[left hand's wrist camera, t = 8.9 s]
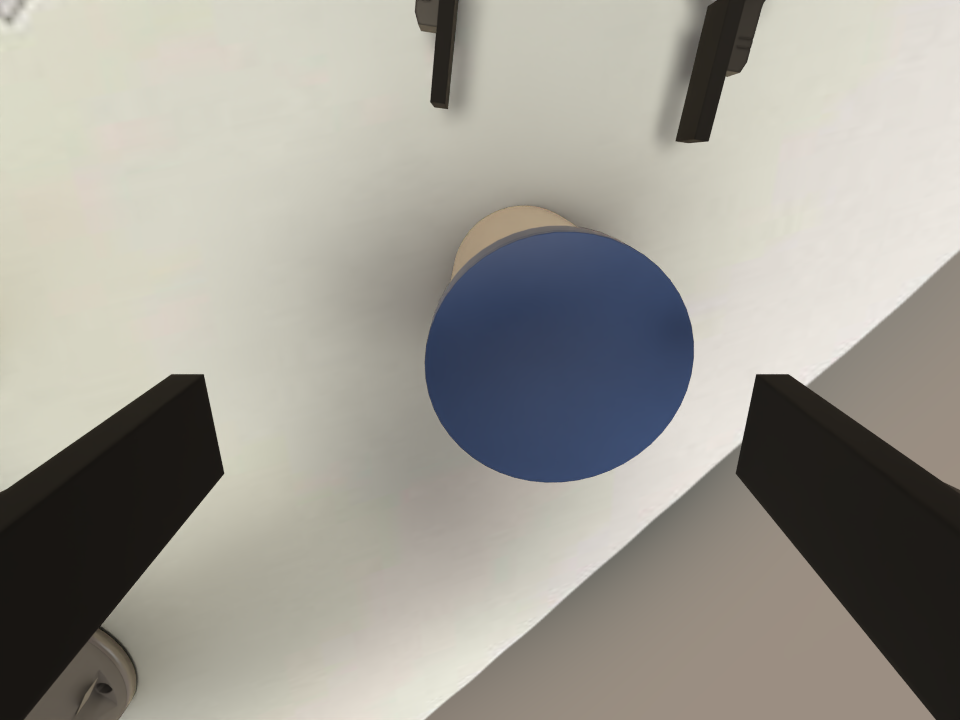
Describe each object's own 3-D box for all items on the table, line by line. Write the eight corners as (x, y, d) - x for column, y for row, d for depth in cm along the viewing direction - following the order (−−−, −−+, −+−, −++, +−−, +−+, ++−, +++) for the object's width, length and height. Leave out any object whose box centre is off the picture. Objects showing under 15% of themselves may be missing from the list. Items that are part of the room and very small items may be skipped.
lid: (431, 218, 20) (426, 223, 18) (698, 232, 21) (720, 239, 19) (427, 453, 24) (423, 477, 22) (652, 462, 24) (667, 487, 22)
